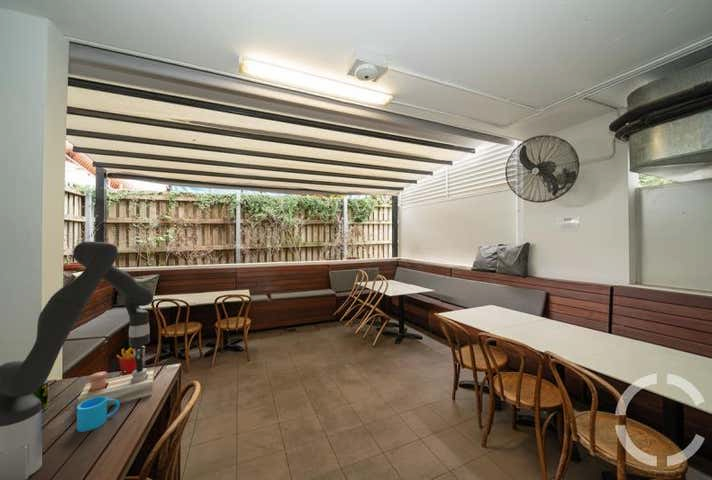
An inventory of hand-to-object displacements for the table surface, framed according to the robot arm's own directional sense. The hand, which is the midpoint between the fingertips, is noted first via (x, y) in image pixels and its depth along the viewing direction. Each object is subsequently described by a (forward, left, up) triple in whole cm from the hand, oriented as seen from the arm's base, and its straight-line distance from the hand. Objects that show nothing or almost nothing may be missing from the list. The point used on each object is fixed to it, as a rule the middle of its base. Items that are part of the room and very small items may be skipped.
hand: (139, 370), depth 126 cm
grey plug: (0, 0, -7) cm, 7 cm away
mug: (-18, +11, -10) cm, 23 cm away
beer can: (+6, +33, -9) cm, 35 cm away
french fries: (+19, +5, -9) cm, 22 cm away
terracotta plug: (0, +14, -5) cm, 15 cm away
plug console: (0, +7, -9) cm, 12 cm away
